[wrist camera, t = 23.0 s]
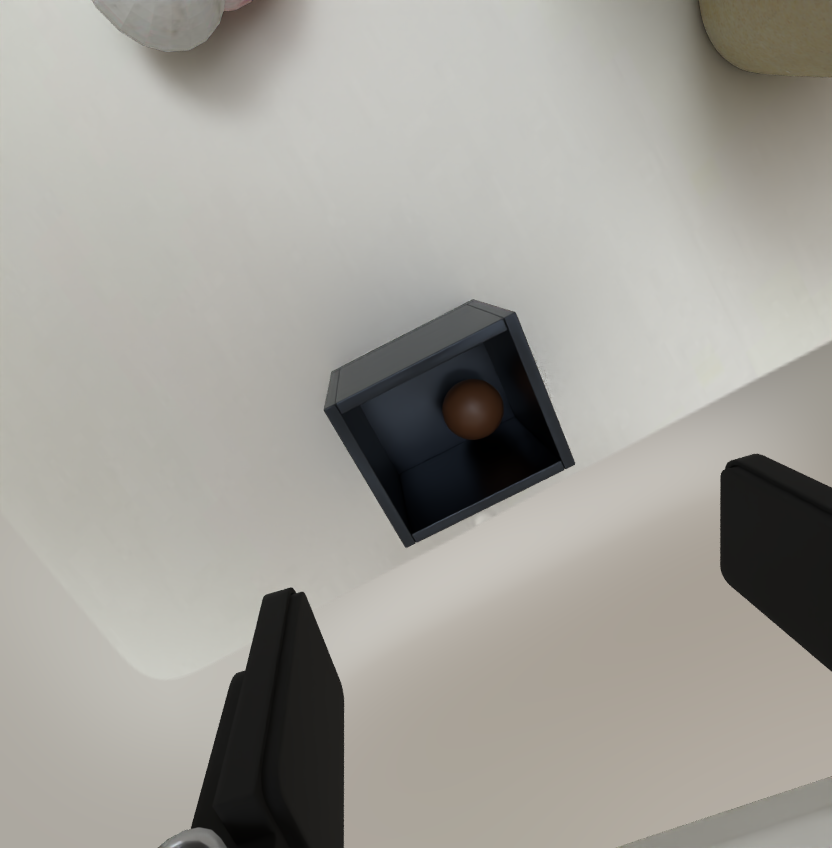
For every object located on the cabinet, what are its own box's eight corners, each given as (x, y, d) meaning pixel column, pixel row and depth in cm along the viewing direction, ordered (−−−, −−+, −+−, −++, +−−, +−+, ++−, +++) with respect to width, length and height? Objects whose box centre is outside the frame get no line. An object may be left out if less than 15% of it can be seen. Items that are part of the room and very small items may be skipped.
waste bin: (393, 481, 26) (405, 548, 20) (331, 371, 24) (323, 409, 18) (523, 416, 26) (576, 464, 20) (473, 298, 23) (515, 311, 17)
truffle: (435, 446, 23) (495, 457, 23) (437, 396, 21) (503, 406, 21) (447, 411, 25) (503, 420, 25) (450, 363, 24) (510, 372, 23)
